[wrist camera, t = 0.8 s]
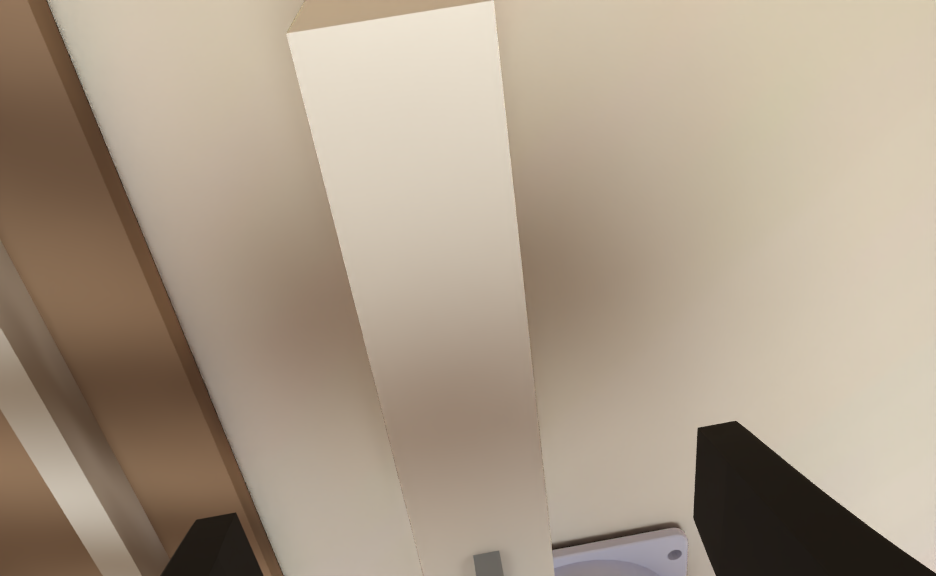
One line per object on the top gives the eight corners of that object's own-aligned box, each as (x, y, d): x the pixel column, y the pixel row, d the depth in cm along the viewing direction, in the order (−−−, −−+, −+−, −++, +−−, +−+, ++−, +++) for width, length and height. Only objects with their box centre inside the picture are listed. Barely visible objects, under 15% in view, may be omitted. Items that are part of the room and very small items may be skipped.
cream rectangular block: (515, 439, 22) (574, 669, 16) (422, 456, 22) (442, 695, 16) (453, -41, 15) (512, 19, 9) (316, -18, 15) (271, 57, 9)
